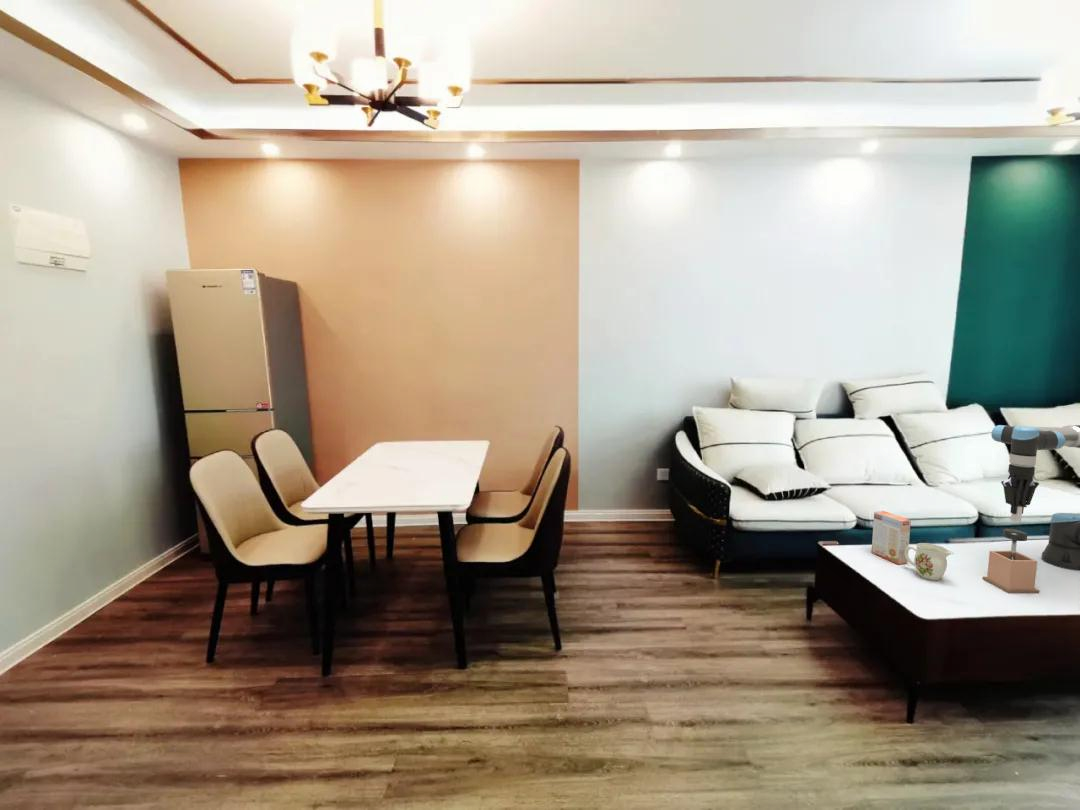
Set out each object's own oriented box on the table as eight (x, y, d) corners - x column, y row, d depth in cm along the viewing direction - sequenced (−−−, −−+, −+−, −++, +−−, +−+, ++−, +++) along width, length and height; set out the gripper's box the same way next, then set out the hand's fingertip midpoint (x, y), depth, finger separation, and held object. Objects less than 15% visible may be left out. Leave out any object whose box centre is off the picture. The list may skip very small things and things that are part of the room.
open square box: (1011, 579, 207) (1014, 549, 205) (1039, 593, 195) (1042, 562, 193) (982, 579, 207) (985, 549, 206) (1008, 593, 195) (1011, 562, 194)
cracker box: (908, 563, 223) (911, 519, 220) (897, 565, 222) (900, 521, 219) (881, 551, 236) (884, 510, 234) (870, 552, 235) (873, 511, 233)
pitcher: (911, 565, 221) (913, 536, 220) (958, 582, 205) (960, 550, 204) (896, 569, 217) (898, 540, 215) (943, 587, 201) (946, 555, 199)
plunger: (1012, 563, 204) (1016, 528, 202) (1030, 571, 196) (1034, 535, 194) (994, 563, 204) (997, 528, 202) (1010, 571, 196) (1014, 535, 195)
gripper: (1029, 462, 199) (1023, 518, 201) (996, 462, 199) (991, 518, 202) (1048, 467, 191) (1041, 524, 194) (1013, 467, 192) (1007, 524, 194)
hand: (1015, 521), depth 198 cm, fingers closed
